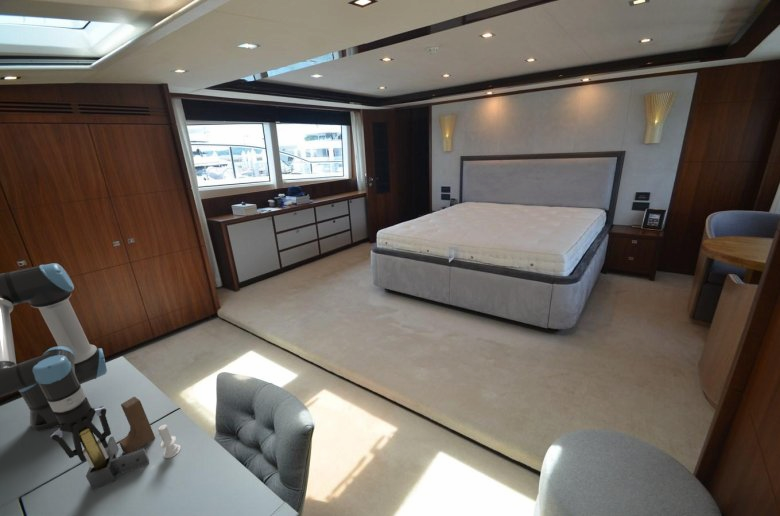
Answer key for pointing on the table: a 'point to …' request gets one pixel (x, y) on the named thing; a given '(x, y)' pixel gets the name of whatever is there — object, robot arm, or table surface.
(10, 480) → the table surface
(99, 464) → the hinge pin
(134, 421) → the wooden block
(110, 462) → the square tube bracket
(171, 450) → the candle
